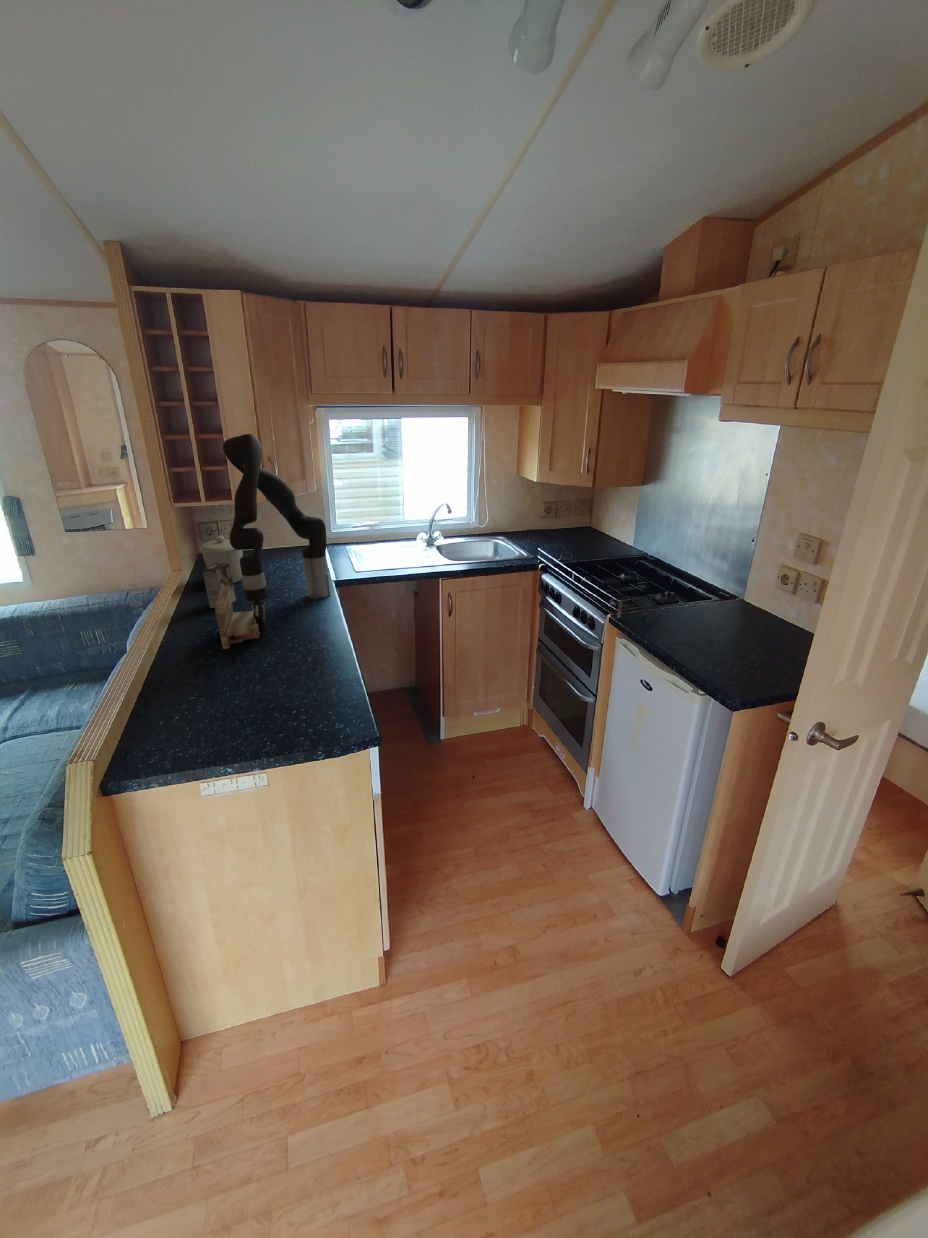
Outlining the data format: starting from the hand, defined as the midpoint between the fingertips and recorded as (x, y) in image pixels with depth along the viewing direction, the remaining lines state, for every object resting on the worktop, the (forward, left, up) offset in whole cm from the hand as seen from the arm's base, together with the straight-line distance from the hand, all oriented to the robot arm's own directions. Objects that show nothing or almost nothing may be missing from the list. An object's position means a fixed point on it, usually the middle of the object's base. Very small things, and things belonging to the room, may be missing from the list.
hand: (262, 631), depth 198 cm
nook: (+8, 0, -1) cm, 8 cm away
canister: (+20, -65, -1) cm, 68 cm away
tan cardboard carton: (+5, 0, -1) cm, 5 cm away
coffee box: (+18, -35, -1) cm, 40 cm away
